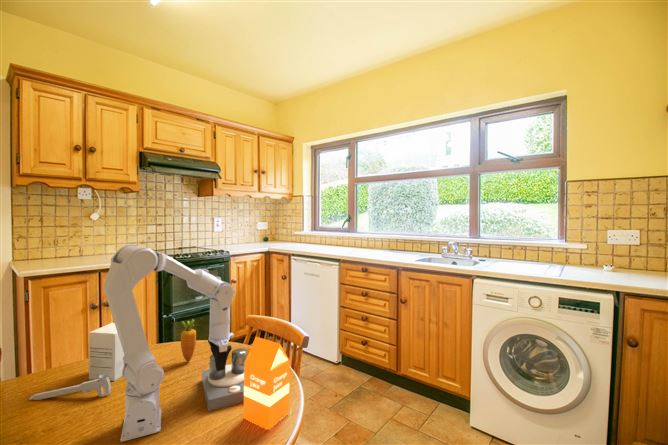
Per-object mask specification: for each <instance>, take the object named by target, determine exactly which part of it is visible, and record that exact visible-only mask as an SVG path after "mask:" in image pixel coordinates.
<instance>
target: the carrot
mask: <svg viewBox="0 0 668 445" xmlns="http://www.w3.org/2000/svg"><path fill="white" fill-rule="evenodd" d="M194 323H195V319H193V318H192V319H191V321H190V320H187V321H186V322H185V321H184V320H183V321H181V324H182V325H183V327H184V330H182V332H181V334H180V348H181V353H182V356H183V358H184V360H185V361H186V362H187V363H190V362H191V359H192V357H193V355H194V352H195V349H196V342H197V330H196V329H193V327H195V324H194Z"/></svg>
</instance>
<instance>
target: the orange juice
mask: <svg viewBox="0 0 668 445" xmlns="http://www.w3.org/2000/svg"><path fill="white" fill-rule="evenodd" d="M290 361H291V359H289V357H288V355H287V354H286V352H285V350H284V348H283V347H282V345H281V343H279V342H275V341H272V340H269V339H265V338H262V337H259V336H255V338H254V340H253V342H252V345H251V346H250V349H249V352H248V354H247V358H246V360H245V368H244V402H243V419H244V420H245V419H246V421H247V420H248V422H249V421H250V423H251V422H252V423H251V424H253V423H254V425H255V424H256V426H257V425H259V426H261V427H264V428H267V429H270V428H271V427H272V426H273V425H275V424H276V423H277V422H278V421H279V420H280V419H281V418H282V417H284V416H285V415H286V414H287V413H288V412H289V407H290V406H289V405H290V369H291V368H290V366H291V362H290ZM259 426H258V427H259ZM261 427H260V428H261Z"/></svg>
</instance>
